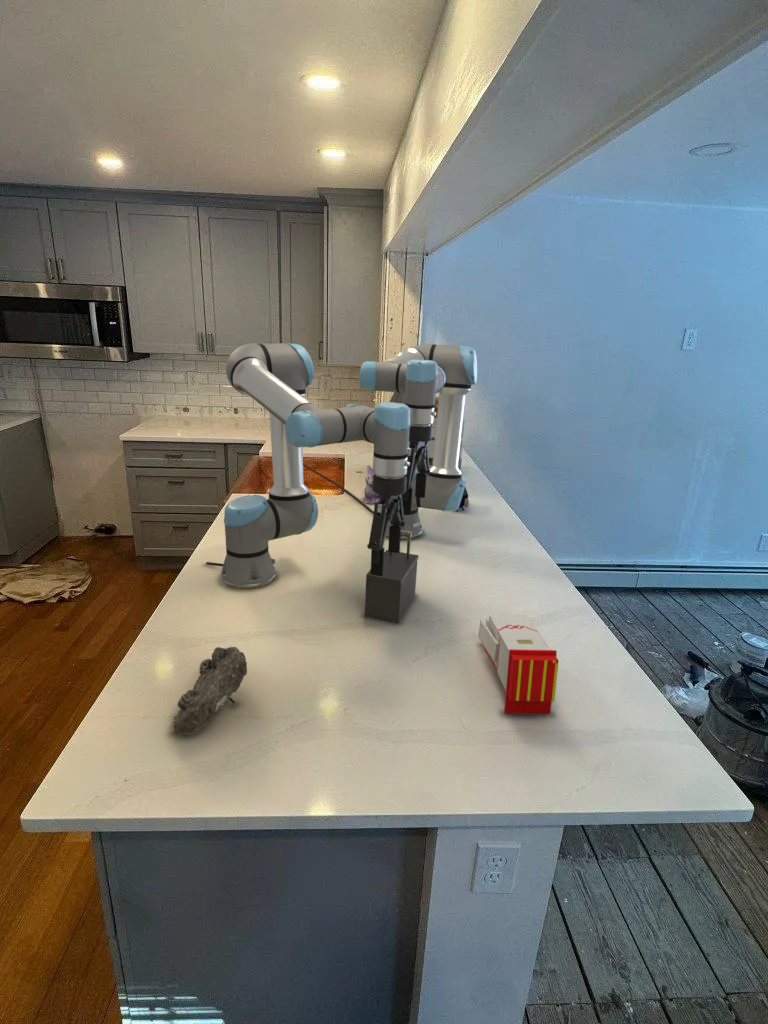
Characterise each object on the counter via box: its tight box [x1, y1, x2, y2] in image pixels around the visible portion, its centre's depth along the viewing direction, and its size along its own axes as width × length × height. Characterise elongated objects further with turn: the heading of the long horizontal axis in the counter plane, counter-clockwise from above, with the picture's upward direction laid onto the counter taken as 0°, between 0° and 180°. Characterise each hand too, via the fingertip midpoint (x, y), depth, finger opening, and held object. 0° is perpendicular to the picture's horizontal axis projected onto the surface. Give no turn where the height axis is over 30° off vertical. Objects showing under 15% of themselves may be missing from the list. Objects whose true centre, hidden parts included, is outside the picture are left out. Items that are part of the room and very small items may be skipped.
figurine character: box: [455, 486, 470, 512], centre depth 229 cm, size 7×8×15 cm
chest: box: [364, 560, 418, 624], centre depth 150 cm, size 16×9×11 cm, turn 162°
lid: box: [365, 530, 419, 585], centre depth 147 cm, size 17×9×9 cm, turn 162°
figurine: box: [363, 464, 380, 505], centre depth 230 cm, size 9×10×15 cm
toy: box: [477, 613, 560, 715], centre depth 124 cm, size 12×13×30 cm
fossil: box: [172, 646, 248, 736], centre depth 111 cm, size 22×10×15 cm
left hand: (385, 563), depth 132 cm, fingers open, 13 cm apart
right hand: (413, 504), depth 149 cm, fingers open, 13 cm apart
